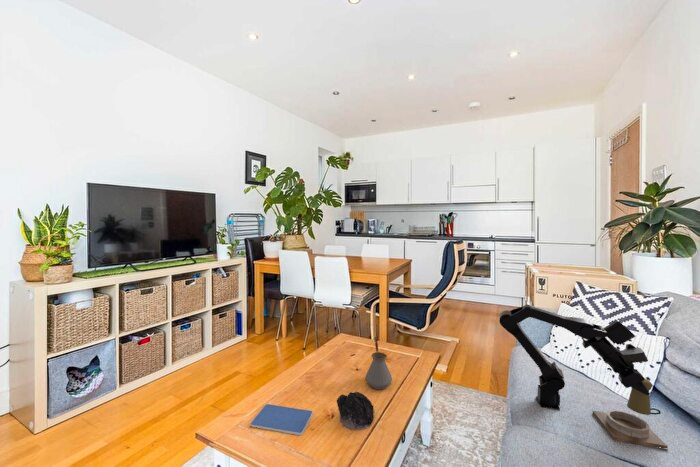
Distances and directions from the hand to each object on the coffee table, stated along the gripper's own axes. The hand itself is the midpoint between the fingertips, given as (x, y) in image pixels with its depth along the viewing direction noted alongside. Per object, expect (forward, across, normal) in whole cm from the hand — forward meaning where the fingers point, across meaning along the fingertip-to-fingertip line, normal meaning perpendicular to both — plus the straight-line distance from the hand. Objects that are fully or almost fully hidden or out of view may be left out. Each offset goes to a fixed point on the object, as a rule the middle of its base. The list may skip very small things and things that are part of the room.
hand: (645, 390), depth 103 cm
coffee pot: (-54, -17, +77) cm, 95 cm away
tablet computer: (-66, -59, +90) cm, 126 cm away
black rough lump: (-51, -46, +73) cm, 100 cm away
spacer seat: (+6, -4, +13) cm, 15 cm away
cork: (+4, 0, +6) cm, 7 cm away
